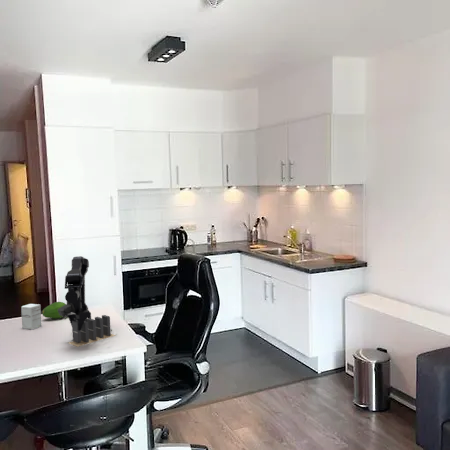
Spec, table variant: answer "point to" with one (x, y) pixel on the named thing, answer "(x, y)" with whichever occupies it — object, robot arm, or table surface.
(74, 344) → the board
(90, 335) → the domino
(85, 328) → the domino
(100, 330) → the domino
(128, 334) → the table surface
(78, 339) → the domino
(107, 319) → the domino
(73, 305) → the robot arm
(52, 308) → the fruit
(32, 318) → the supplement box
